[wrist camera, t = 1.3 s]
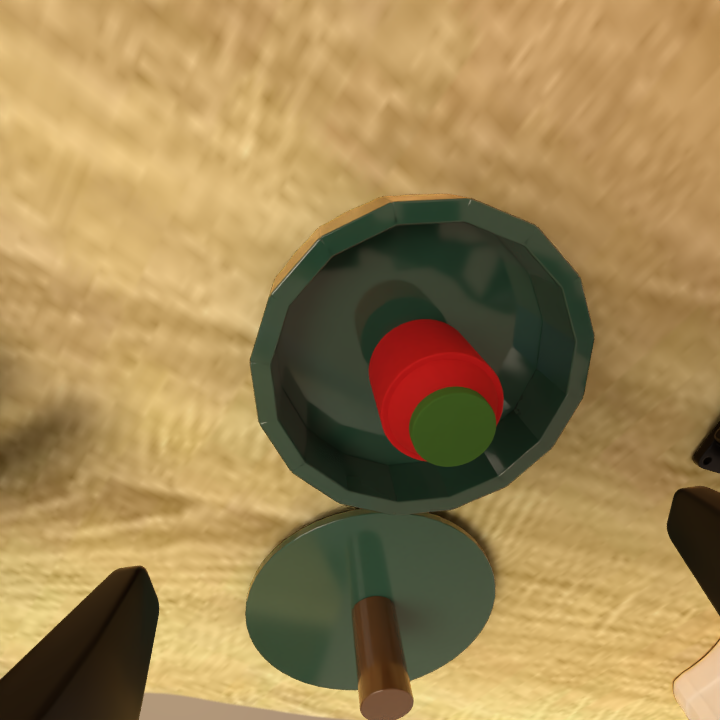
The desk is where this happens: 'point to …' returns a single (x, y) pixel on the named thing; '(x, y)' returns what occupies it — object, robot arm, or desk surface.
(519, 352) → the ring
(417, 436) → the strawberry
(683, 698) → the jar
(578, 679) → the desk surface
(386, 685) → the lid
